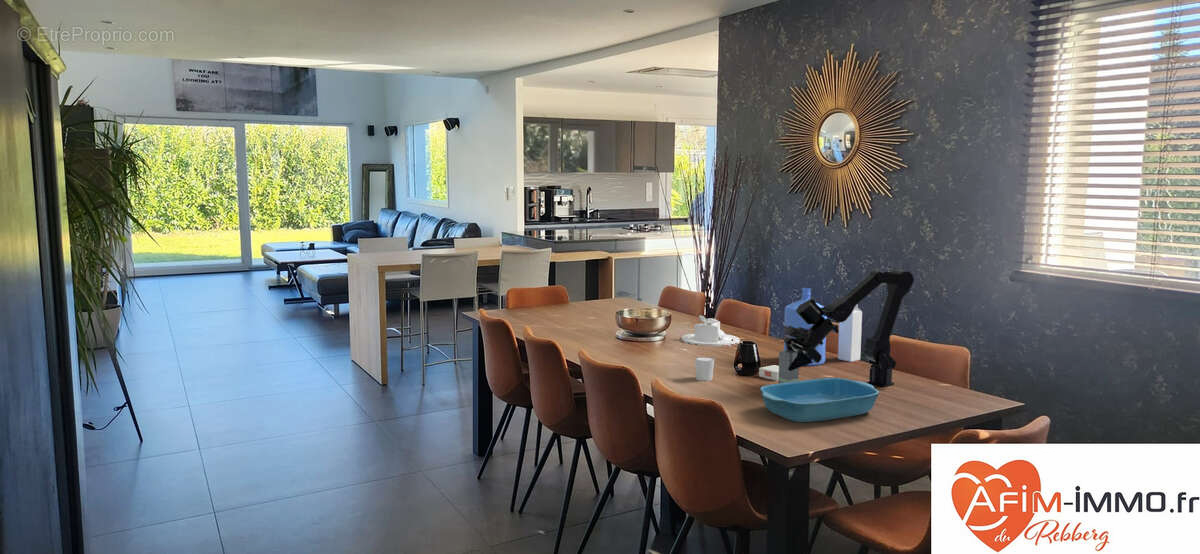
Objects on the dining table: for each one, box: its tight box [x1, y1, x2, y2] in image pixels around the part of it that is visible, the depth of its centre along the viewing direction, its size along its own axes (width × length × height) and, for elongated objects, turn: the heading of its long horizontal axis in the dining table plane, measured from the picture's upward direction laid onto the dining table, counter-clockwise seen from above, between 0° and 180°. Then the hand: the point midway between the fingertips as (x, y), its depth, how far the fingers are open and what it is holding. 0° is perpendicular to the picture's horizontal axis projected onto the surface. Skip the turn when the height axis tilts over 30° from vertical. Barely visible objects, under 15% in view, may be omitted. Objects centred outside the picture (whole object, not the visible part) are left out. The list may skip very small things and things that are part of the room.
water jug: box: [783, 287, 828, 367], centre depth 308 cm, size 16×16×28 cm
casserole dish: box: [760, 377, 880, 423], centre depth 242 cm, size 37×22×7 cm, turn 113°
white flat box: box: [758, 364, 779, 382], centre depth 285 cm, size 8×8×3 cm
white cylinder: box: [694, 356, 715, 382], centre depth 281 cm, size 7×7×7 cm
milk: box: [837, 303, 863, 363], centre depth 312 cm, size 6×6×22 cm
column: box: [778, 349, 800, 384], centre depth 268 cm, size 5×5×12 cm
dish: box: [681, 315, 741, 347], centre depth 350 cm, size 25×25×11 cm
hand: (784, 367), depth 268 cm, fingers closed on column, 6 cm apart
